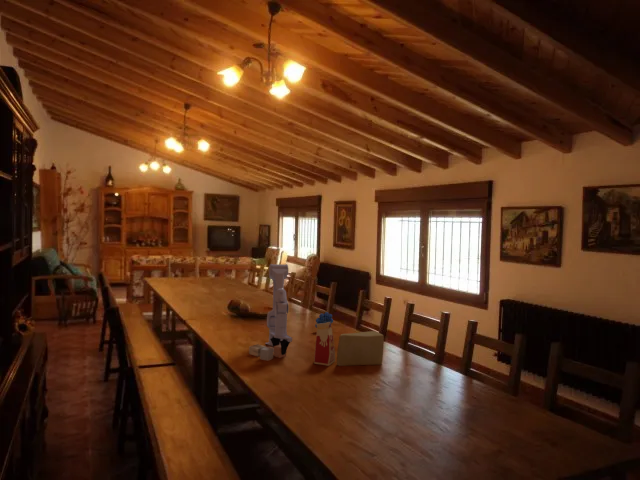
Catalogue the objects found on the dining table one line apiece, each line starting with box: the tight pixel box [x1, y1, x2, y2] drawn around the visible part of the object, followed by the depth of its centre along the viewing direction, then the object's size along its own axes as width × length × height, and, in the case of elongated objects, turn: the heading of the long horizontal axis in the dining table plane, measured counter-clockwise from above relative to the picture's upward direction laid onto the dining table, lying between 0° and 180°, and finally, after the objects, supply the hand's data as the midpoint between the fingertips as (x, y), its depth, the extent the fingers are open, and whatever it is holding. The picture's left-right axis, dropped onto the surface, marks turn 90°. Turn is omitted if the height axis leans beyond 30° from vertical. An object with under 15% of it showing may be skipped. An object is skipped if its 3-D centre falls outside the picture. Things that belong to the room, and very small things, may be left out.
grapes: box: [314, 311, 334, 329], centre depth 296 cm, size 12×7×12 cm, turn 110°
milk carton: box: [313, 322, 336, 367], centre depth 234 cm, size 9×9×20 cm
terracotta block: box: [273, 344, 287, 359], centre depth 241 cm, size 4×4×5 cm
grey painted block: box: [259, 346, 274, 362], centre depth 236 cm, size 4×4×5 cm
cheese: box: [336, 330, 385, 367], centre depth 233 cm, size 22×10×15 cm, turn 111°
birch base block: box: [248, 343, 267, 357], centre depth 243 cm, size 6×6×4 cm
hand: (279, 353), depth 241 cm, fingers closed on terracotta block, 4 cm apart
